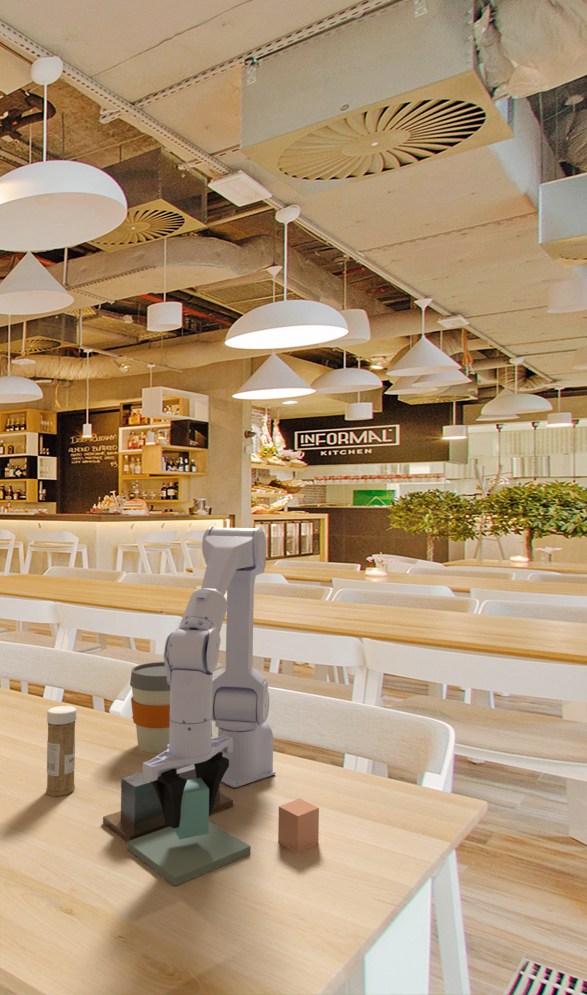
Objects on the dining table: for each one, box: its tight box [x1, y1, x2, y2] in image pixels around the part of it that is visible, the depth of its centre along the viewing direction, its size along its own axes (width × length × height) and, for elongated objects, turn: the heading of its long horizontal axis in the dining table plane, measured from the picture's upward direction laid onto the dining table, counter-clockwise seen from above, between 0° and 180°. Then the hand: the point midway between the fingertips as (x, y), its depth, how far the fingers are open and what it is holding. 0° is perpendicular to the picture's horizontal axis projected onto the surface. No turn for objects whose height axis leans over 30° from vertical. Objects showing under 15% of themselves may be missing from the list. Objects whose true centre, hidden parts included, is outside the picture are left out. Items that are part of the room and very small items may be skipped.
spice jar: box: [45, 705, 77, 797], centre depth 110 cm, size 5×5×13 cm
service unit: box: [102, 764, 234, 843], centre depth 102 cm, size 18×8×7 cm, turn 133°
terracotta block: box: [277, 797, 320, 854], centre depth 94 cm, size 4×4×5 cm
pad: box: [126, 820, 251, 887], centre depth 91 cm, size 12×12×1 cm
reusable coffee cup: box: [129, 661, 170, 754], centre depth 132 cm, size 13×13×15 cm
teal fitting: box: [173, 778, 210, 840], centre depth 91 cm, size 4×4×6 cm
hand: (189, 818), depth 91 cm, fingers closed on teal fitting, 5 cm apart
